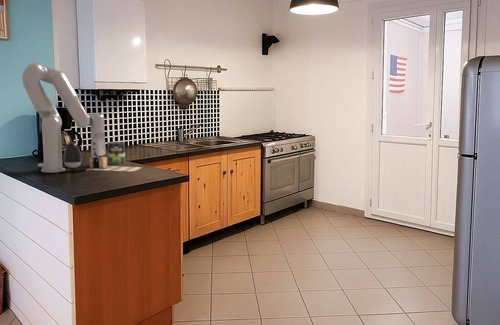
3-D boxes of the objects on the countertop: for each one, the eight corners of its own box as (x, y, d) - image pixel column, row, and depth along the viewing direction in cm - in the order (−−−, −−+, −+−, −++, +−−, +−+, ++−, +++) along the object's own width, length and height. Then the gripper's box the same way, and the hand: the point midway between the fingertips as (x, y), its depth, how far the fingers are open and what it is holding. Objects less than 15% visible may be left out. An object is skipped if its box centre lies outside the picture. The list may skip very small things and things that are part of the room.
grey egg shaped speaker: (63, 166, 271) (62, 141, 269) (81, 165, 274) (81, 140, 272) (62, 168, 261) (61, 142, 259) (81, 168, 265) (81, 142, 263)
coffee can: (125, 166, 275) (124, 143, 273) (107, 166, 272) (107, 143, 270) (125, 164, 285) (124, 141, 283) (108, 164, 282) (107, 142, 280)
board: (86, 171, 253) (86, 169, 253) (97, 167, 268) (97, 165, 268) (134, 173, 250) (133, 171, 250) (143, 169, 265) (143, 167, 265)
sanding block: (90, 168, 258) (89, 157, 257) (93, 166, 263) (93, 156, 262) (103, 168, 257) (103, 158, 256) (107, 167, 262) (106, 157, 261)
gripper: (97, 137, 248) (98, 169, 251) (110, 135, 265) (110, 165, 268) (84, 136, 249) (85, 169, 252) (98, 134, 266) (98, 165, 269)
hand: (98, 166), depth 260 cm, fingers closed on sanding block, 5 cm apart
